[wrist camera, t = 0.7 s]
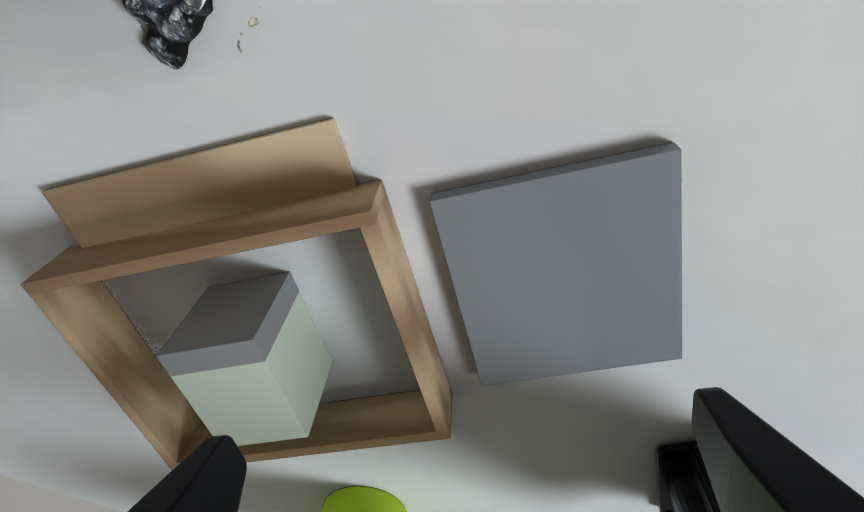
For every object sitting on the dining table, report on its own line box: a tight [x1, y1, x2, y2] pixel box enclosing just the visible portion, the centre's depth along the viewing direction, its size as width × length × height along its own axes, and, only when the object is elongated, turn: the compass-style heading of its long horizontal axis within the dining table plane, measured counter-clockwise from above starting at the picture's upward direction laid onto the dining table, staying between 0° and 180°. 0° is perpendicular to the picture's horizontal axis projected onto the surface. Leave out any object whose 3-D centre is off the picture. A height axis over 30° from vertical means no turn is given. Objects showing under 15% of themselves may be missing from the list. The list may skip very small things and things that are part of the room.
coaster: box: [430, 142, 682, 386], centre depth 23 cm, size 11×10×1 cm
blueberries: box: [122, 0, 260, 69], centre depth 18 cm, size 7×8×2 cm
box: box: [156, 272, 333, 446], centre depth 24 cm, size 6×4×5 cm
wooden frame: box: [21, 118, 452, 470], centre depth 25 cm, size 19×16×3 cm
